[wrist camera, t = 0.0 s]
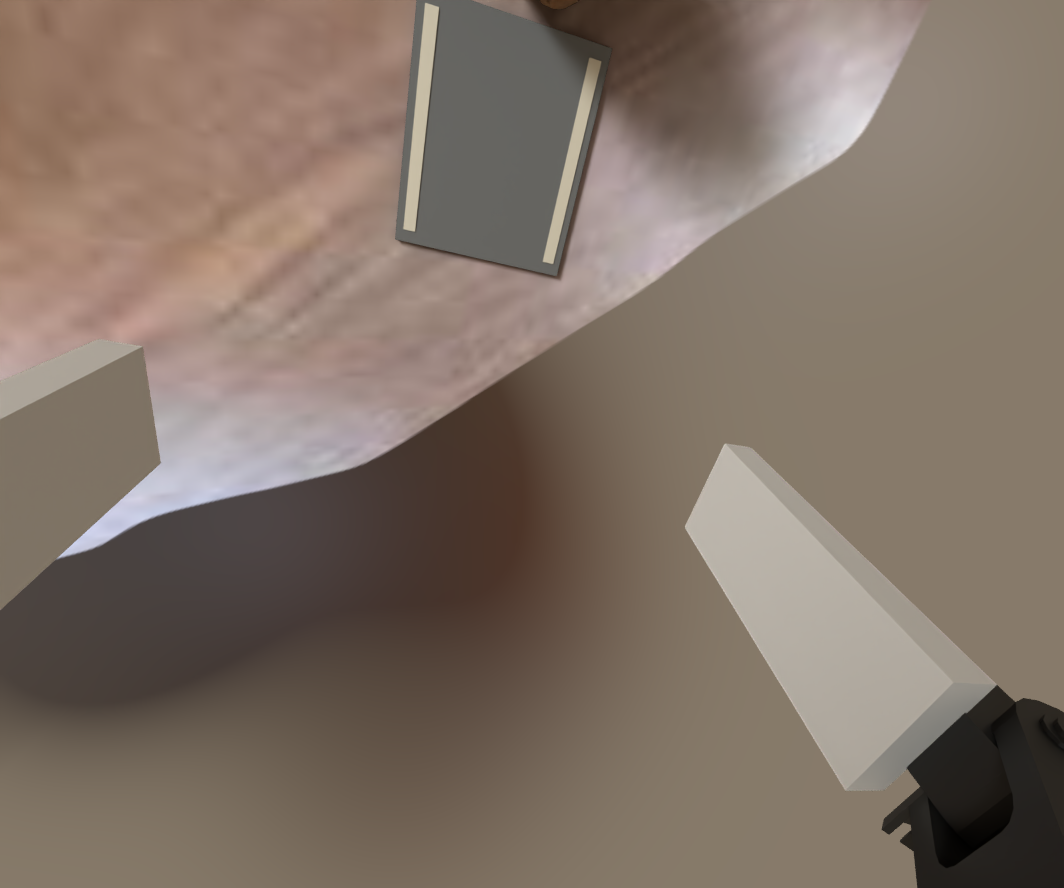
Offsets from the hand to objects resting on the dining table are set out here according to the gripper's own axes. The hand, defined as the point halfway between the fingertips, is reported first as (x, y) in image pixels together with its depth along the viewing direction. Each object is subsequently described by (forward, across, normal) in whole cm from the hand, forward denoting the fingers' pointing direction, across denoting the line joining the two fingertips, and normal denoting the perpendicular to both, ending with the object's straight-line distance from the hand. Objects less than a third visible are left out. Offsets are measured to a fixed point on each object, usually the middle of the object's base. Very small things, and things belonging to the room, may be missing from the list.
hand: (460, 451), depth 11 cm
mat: (+28, +1, +8) cm, 29 cm away
